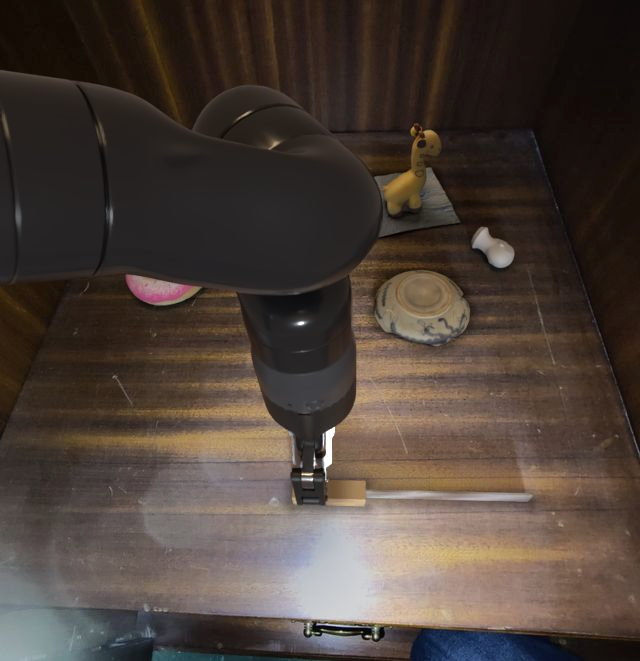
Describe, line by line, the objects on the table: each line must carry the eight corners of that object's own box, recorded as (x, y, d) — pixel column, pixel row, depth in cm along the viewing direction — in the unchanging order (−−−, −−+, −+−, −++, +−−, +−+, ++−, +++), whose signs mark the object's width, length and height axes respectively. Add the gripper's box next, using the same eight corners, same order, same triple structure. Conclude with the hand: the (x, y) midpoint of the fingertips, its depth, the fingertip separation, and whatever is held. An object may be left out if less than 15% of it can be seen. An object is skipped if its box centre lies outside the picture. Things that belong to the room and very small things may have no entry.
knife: (293, 504, 65) (291, 498, 63) (294, 485, 66) (292, 478, 64) (529, 510, 63) (535, 503, 61) (525, 490, 64) (531, 483, 62)
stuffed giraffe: (460, 223, 92) (474, 143, 79) (362, 243, 91) (361, 166, 78) (430, 170, 102) (439, 92, 89) (341, 188, 101) (337, 111, 88)
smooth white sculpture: (513, 271, 87) (492, 275, 84) (484, 240, 91) (463, 244, 89) (527, 251, 84) (505, 255, 81) (496, 221, 88) (474, 224, 85)
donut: (163, 325, 82) (153, 305, 78) (115, 283, 87) (104, 262, 83) (227, 276, 87) (221, 256, 83) (178, 240, 93) (171, 219, 89)
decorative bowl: (356, 294, 84) (407, 362, 76) (356, 279, 81) (409, 348, 73) (433, 261, 88) (489, 323, 80) (436, 245, 85) (495, 308, 77)
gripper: (265, 290, 43) (286, 384, 56) (244, 455, 35) (274, 519, 48) (356, 289, 42) (355, 385, 56) (356, 457, 34) (355, 522, 47)
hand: (318, 447), depth 52 cm, fingers open, 8 cm apart
